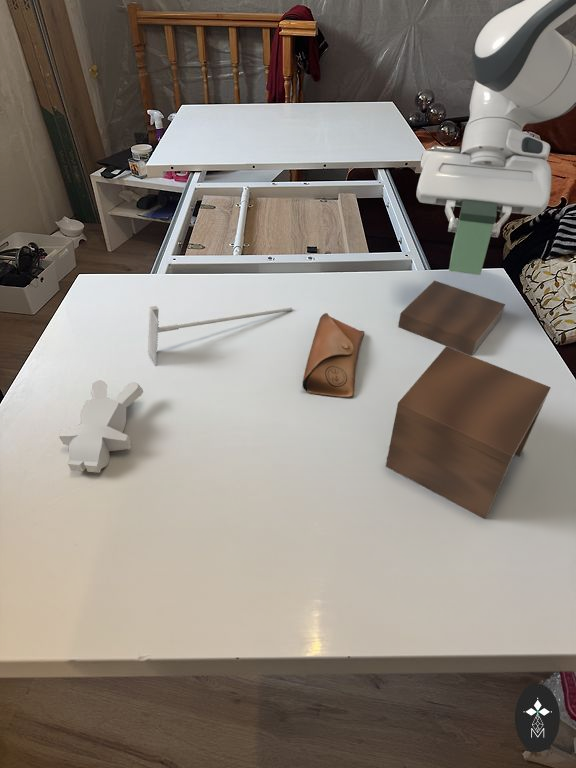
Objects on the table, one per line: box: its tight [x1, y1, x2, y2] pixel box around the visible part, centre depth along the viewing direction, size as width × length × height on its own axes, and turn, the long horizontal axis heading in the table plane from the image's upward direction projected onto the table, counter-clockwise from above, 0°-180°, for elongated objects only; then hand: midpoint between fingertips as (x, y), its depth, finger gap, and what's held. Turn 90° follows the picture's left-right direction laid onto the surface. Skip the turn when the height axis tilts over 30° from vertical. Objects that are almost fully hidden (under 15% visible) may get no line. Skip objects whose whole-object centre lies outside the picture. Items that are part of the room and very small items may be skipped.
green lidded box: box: [448, 199, 498, 276], centre depth 86 cm, size 7×5×10 cm
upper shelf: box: [385, 345, 552, 520], centre depth 69 cm, size 14×14×12 cm
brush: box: [147, 305, 293, 366], centre depth 93 cm, size 4×27×9 cm, turn 119°
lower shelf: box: [397, 280, 506, 357], centre depth 96 cm, size 14×14×3 cm
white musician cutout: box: [58, 380, 144, 473], centre depth 75 cm, size 10×5×15 cm
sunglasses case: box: [301, 312, 365, 399], centre depth 88 cm, size 18×7×7 cm, turn 169°
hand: (473, 233), depth 85 cm, fingers closed on green lidded box, 5 cm apart
